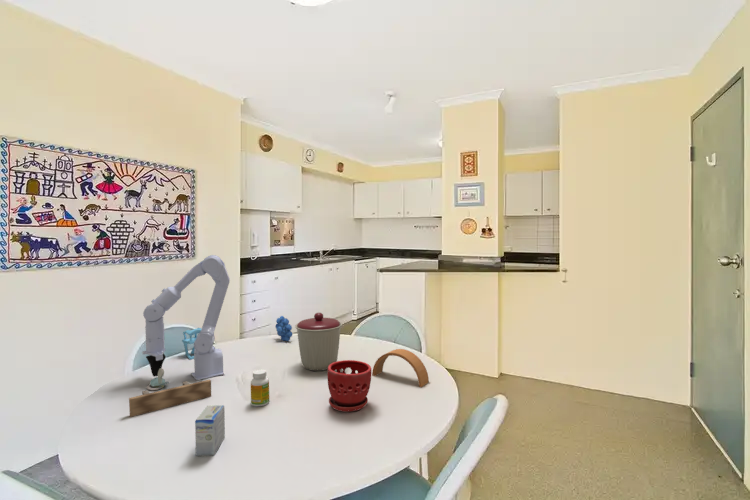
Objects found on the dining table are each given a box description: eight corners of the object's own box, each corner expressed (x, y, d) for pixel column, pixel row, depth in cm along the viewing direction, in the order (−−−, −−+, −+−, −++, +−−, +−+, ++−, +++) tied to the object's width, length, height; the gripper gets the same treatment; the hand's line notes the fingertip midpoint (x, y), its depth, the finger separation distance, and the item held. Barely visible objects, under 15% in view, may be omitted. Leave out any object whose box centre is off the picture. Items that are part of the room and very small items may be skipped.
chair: (197, 351, 172) (196, 325, 171) (207, 355, 167) (206, 327, 166) (180, 356, 165) (179, 328, 165) (190, 359, 161) (189, 331, 160)
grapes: (269, 340, 189) (268, 316, 188) (280, 337, 194) (280, 314, 193) (284, 344, 181) (283, 319, 181) (295, 341, 186) (295, 316, 186)
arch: (381, 371, 145) (380, 344, 145) (429, 382, 134) (428, 353, 134) (372, 375, 141) (371, 348, 140) (421, 387, 129) (420, 358, 129)
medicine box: (207, 439, 98) (206, 405, 97) (225, 438, 98) (224, 404, 98) (195, 456, 90) (194, 420, 89) (215, 455, 90) (214, 419, 90)
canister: (286, 371, 146) (285, 315, 145) (311, 357, 163) (310, 307, 162) (328, 377, 139) (327, 319, 138) (350, 361, 156) (349, 309, 155)
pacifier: (151, 393, 127) (171, 387, 131) (150, 374, 127) (169, 369, 131) (143, 387, 132) (162, 382, 136) (142, 369, 131) (161, 364, 136)
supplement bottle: (264, 407, 115) (263, 375, 115) (247, 406, 116) (246, 374, 116) (272, 400, 120) (271, 369, 120) (256, 398, 121) (255, 368, 121)
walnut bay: (202, 386, 132) (201, 371, 132) (211, 396, 124) (210, 380, 123) (125, 404, 118) (125, 388, 118) (130, 417, 110) (129, 399, 110)
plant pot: (337, 419, 107) (337, 376, 107) (321, 401, 119) (321, 363, 118) (379, 409, 113) (379, 369, 113) (360, 393, 125) (359, 356, 124)
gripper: (138, 335, 140) (140, 372, 140) (145, 344, 129) (146, 384, 129) (160, 332, 144) (162, 368, 145) (169, 340, 133) (170, 379, 133)
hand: (156, 375), depth 137 cm, fingers closed
